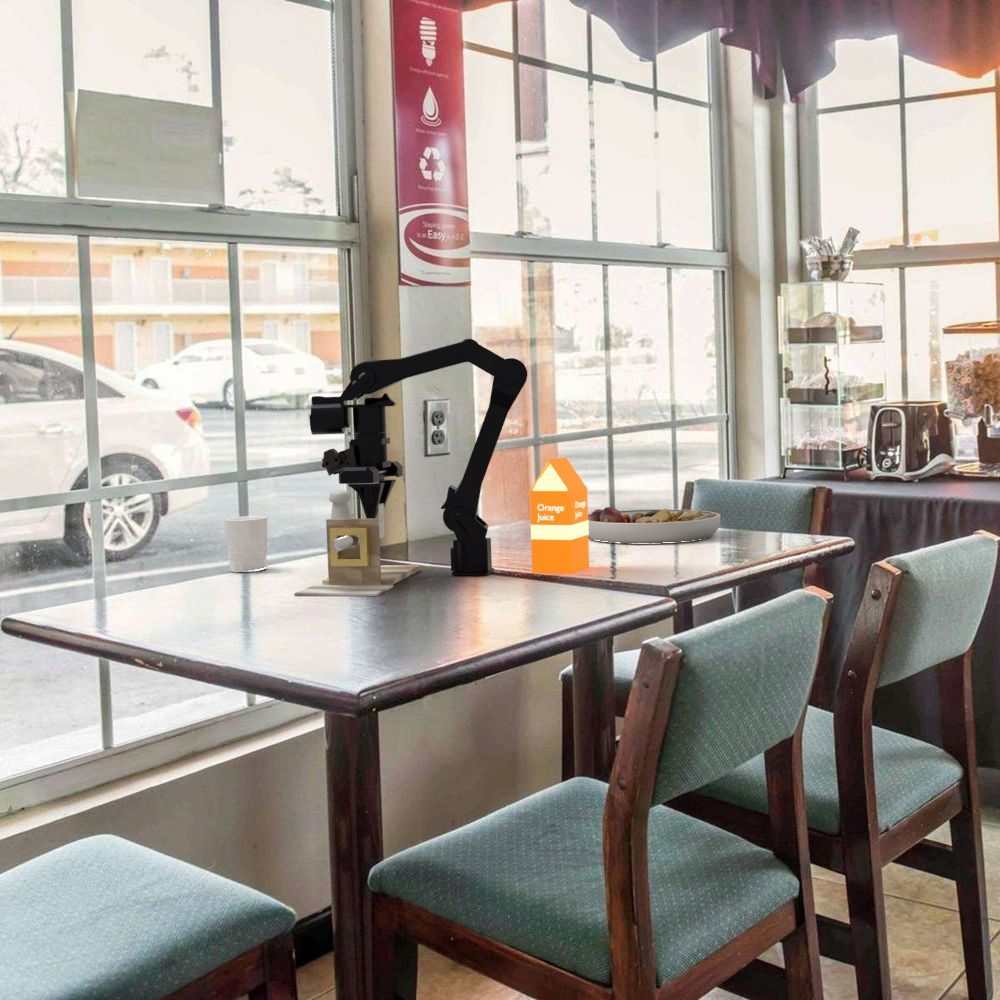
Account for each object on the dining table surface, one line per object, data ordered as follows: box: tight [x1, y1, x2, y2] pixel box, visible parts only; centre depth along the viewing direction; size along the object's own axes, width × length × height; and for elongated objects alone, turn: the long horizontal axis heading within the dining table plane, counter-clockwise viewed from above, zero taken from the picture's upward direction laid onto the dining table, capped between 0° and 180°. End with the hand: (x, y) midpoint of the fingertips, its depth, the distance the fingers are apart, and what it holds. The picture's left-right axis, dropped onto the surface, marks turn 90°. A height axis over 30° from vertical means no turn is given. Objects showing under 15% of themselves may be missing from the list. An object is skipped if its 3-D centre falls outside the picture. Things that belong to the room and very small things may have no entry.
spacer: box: [330, 527, 370, 566], centre depth 216 cm, size 2×6×6 cm, turn 78°
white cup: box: [224, 515, 268, 574], centre depth 243 cm, size 8×8×10 cm
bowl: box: [588, 506, 721, 543], centre depth 277 cm, size 30×30×8 cm
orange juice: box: [529, 456, 590, 575], centre depth 230 cm, size 8×9×20 cm
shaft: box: [331, 503, 386, 551], centre depth 220 cm, size 21×3×6 cm, turn 168°
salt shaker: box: [328, 489, 355, 548], centre depth 265 cm, size 6×6×13 cm
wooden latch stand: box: [293, 518, 421, 597], centre depth 222 cm, size 29×14×12 cm, turn 168°
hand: (373, 520), depth 229 cm, fingers closed on shaft, 3 cm apart
